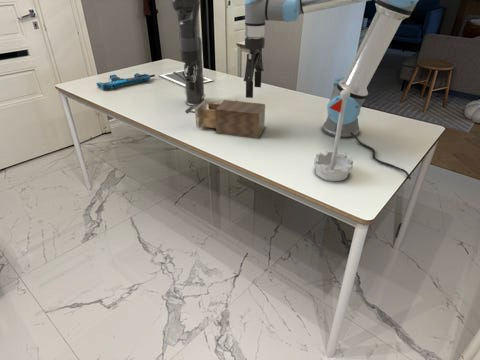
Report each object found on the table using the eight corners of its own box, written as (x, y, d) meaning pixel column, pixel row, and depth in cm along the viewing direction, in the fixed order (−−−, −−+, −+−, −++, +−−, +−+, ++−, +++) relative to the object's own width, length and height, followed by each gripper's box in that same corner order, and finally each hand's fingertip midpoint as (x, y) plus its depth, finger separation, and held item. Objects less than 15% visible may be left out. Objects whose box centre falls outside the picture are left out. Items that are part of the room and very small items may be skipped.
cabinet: (216, 133, 148) (215, 109, 142) (224, 122, 158) (224, 99, 152) (258, 138, 144) (258, 113, 138) (264, 127, 153) (265, 103, 147)
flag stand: (336, 160, 127) (350, 81, 111) (358, 178, 117) (377, 93, 101) (306, 167, 123) (316, 85, 107) (326, 186, 113) (340, 99, 97)
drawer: (184, 126, 152) (182, 107, 147) (193, 117, 160) (192, 99, 155) (233, 132, 146) (233, 112, 141) (240, 122, 155) (240, 104, 150)
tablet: (159, 75, 221) (159, 75, 220) (185, 70, 232) (185, 69, 231) (186, 87, 200) (186, 86, 200) (213, 80, 211) (213, 80, 211)
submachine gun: (140, 68, 226) (159, 74, 209) (142, 73, 228) (160, 80, 211) (89, 77, 207) (104, 85, 190) (90, 84, 209) (106, 92, 192)
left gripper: (187, 44, 144) (191, 85, 153) (174, 51, 133) (178, 94, 142) (204, 45, 142) (206, 86, 151) (191, 52, 131) (195, 96, 141)
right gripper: (253, 30, 139) (252, 82, 150) (235, 43, 119) (236, 101, 130) (271, 31, 137) (269, 83, 149) (256, 44, 117) (255, 103, 129)
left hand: (193, 90), depth 147 cm, fingers closed
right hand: (253, 92), depth 140 cm, fingers open, 13 cm apart
